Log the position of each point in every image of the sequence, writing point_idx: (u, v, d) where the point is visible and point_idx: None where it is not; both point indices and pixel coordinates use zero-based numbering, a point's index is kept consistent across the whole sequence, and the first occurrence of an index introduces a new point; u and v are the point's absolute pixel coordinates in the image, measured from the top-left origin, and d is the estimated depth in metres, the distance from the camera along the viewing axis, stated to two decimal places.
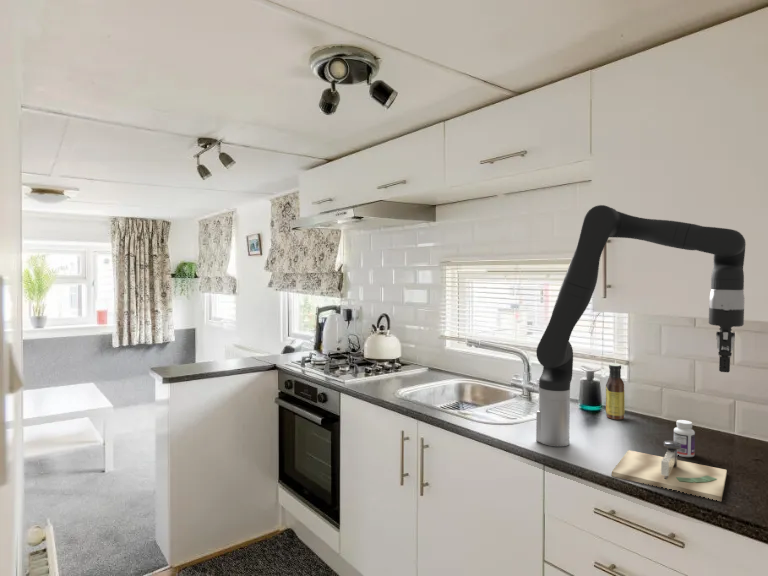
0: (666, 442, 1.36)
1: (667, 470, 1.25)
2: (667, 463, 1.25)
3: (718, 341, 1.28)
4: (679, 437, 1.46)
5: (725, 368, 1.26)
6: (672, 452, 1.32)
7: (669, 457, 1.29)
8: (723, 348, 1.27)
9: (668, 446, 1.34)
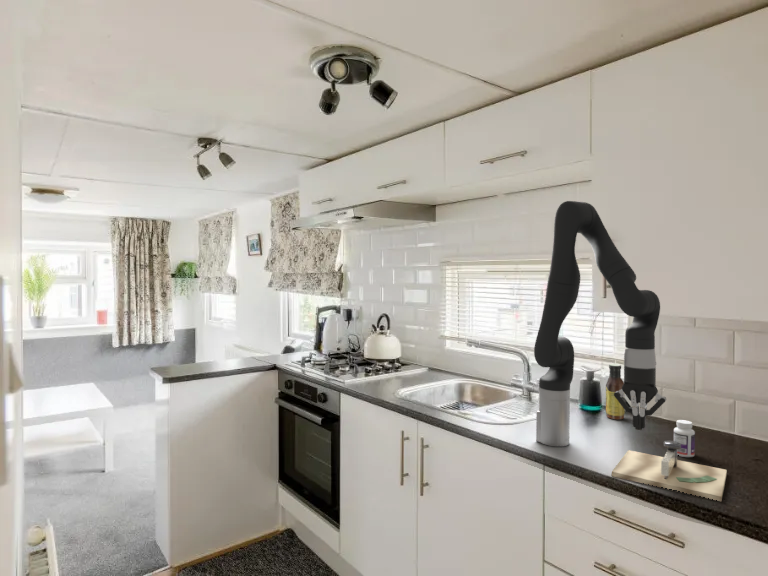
0: (666, 442, 1.36)
1: (667, 470, 1.25)
2: (667, 463, 1.25)
3: (645, 402, 1.31)
4: (679, 437, 1.46)
5: (644, 426, 1.33)
6: (672, 452, 1.32)
7: (669, 457, 1.29)
8: None
9: (668, 446, 1.34)
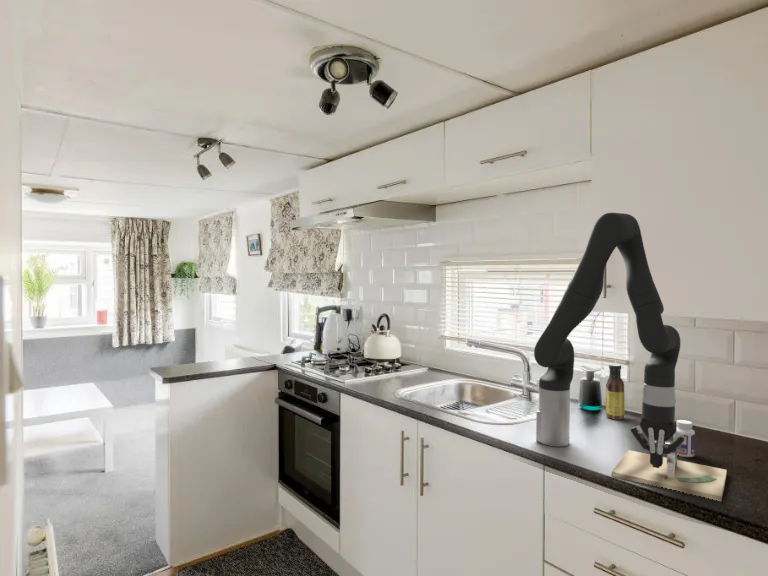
0: (666, 442, 1.35)
1: (673, 471, 1.25)
2: (673, 464, 1.25)
3: (663, 440, 1.29)
4: None
5: (662, 463, 1.31)
6: (674, 452, 1.32)
7: (673, 458, 1.28)
8: None
9: None
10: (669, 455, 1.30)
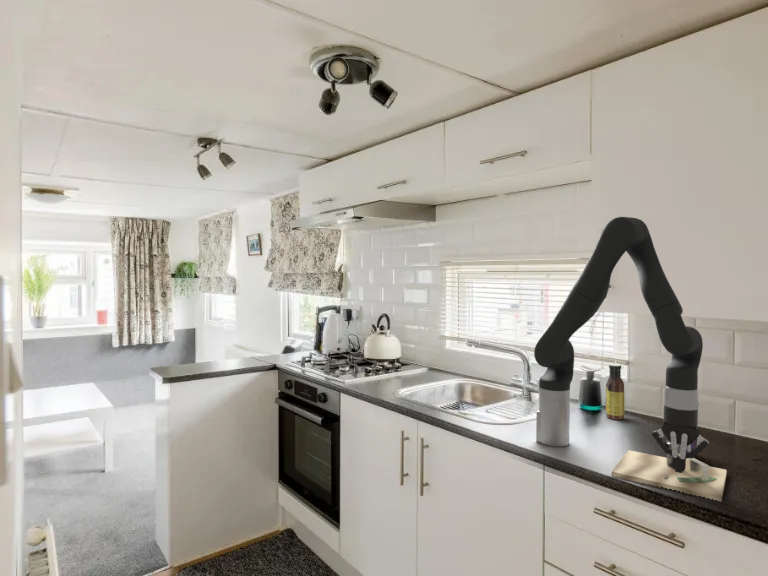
0: (668, 443, 1.35)
1: (707, 473, 1.23)
2: (707, 466, 1.23)
3: (686, 445, 1.26)
4: None
5: (684, 468, 1.28)
6: None
7: (695, 459, 1.27)
8: None
9: None
10: None
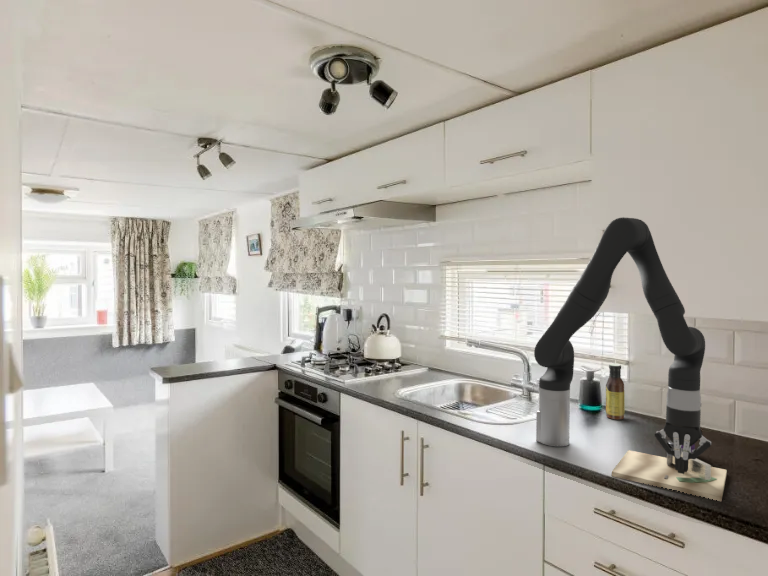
0: None
1: (709, 473, 1.23)
2: (709, 466, 1.23)
3: (689, 445, 1.25)
4: None
5: None
6: None
7: (696, 459, 1.27)
8: None
9: None
10: None
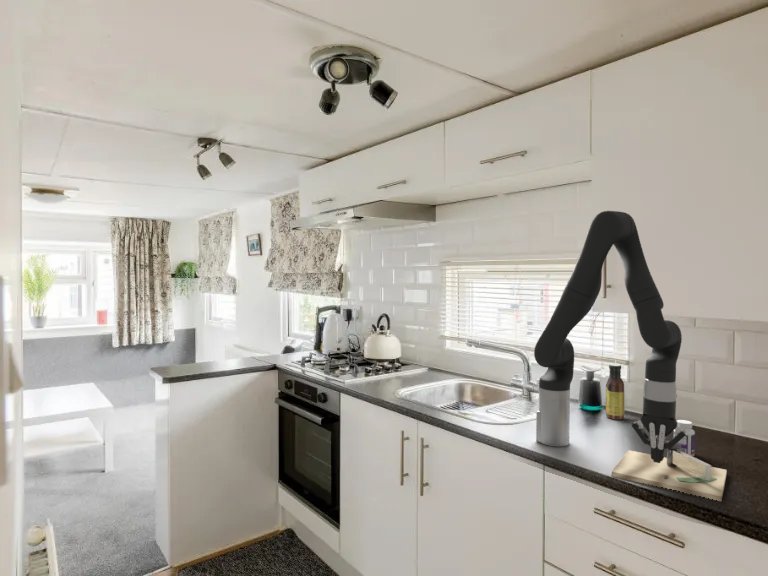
0: None
1: (710, 473, 1.24)
2: (710, 466, 1.23)
3: (664, 435, 1.29)
4: None
5: (663, 458, 1.31)
6: (683, 452, 1.32)
7: (696, 459, 1.27)
8: None
9: (675, 447, 1.33)
10: (688, 457, 1.29)
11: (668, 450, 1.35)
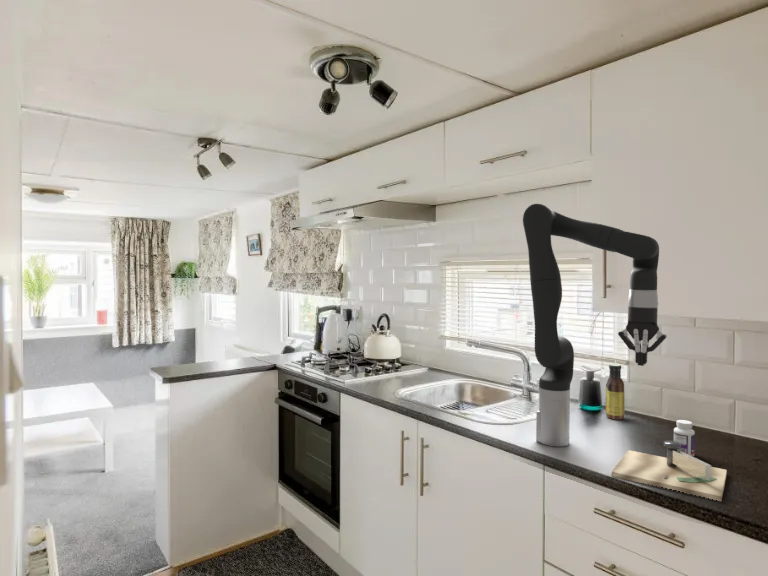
0: (669, 443, 1.34)
1: (710, 473, 1.24)
2: (710, 466, 1.23)
3: (647, 339, 1.42)
4: (679, 437, 1.46)
5: (646, 362, 1.44)
6: (683, 452, 1.32)
7: (696, 459, 1.27)
8: None
9: (675, 447, 1.33)
10: (688, 457, 1.29)
11: (668, 450, 1.35)
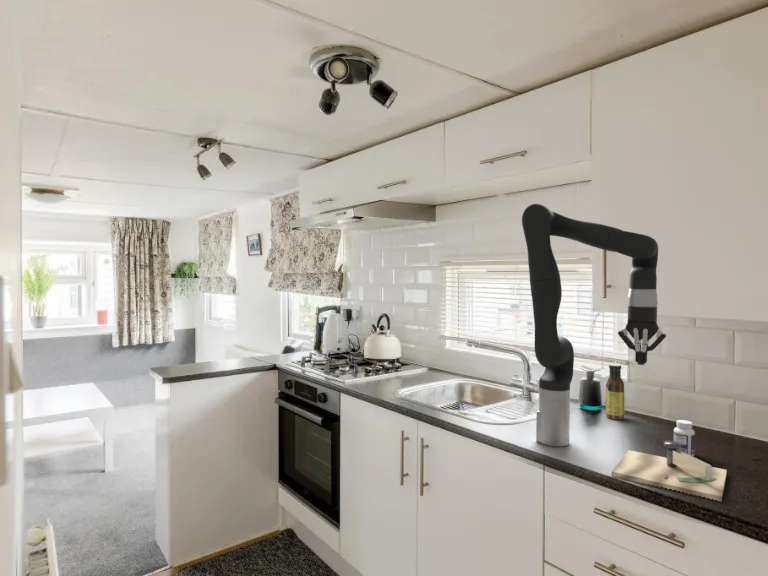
0: (669, 443, 1.34)
1: (710, 473, 1.24)
2: (710, 466, 1.23)
3: (647, 338, 1.42)
4: (679, 437, 1.46)
5: (646, 361, 1.44)
6: (683, 452, 1.32)
7: (696, 459, 1.27)
8: None
9: (675, 447, 1.33)
10: (688, 457, 1.29)
11: (668, 450, 1.35)
